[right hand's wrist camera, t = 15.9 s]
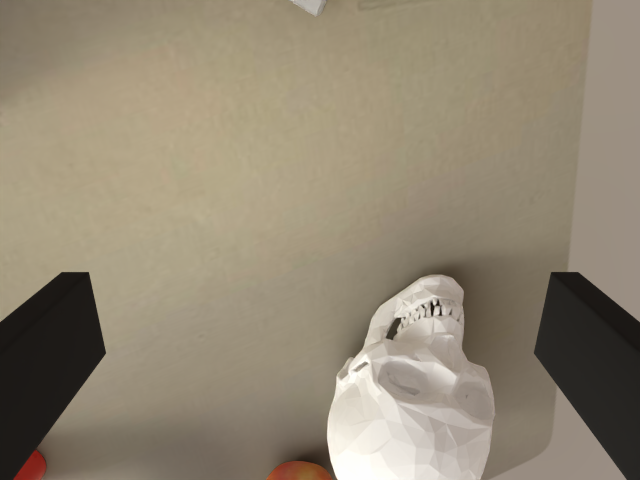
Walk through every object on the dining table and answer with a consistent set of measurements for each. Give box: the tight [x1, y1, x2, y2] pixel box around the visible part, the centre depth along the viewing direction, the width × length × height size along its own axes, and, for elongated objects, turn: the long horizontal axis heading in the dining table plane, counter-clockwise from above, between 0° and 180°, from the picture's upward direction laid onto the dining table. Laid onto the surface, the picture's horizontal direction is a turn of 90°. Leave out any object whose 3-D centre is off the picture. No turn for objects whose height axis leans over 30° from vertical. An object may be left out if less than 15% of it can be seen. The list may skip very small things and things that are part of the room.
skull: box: [327, 275, 495, 480], centre depth 41 cm, size 13×22×16 cm, turn 165°
